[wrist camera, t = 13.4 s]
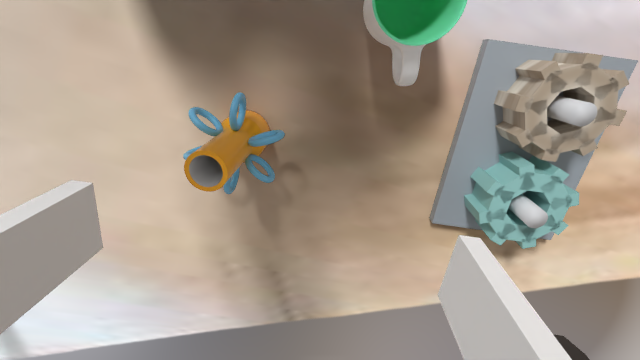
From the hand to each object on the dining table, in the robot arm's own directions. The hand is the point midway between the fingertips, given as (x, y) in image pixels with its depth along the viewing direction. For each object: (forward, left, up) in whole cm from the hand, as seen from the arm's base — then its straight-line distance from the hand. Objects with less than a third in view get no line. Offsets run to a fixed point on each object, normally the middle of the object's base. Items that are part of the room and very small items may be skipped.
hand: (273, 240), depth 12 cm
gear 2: (+8, +27, -30) cm, 41 cm away
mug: (-10, +8, -32) cm, 34 cm away
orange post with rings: (+5, -9, -32) cm, 34 cm away
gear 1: (-4, +27, -30) cm, 40 cm away
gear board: (+2, +27, -32) cm, 41 cm away
